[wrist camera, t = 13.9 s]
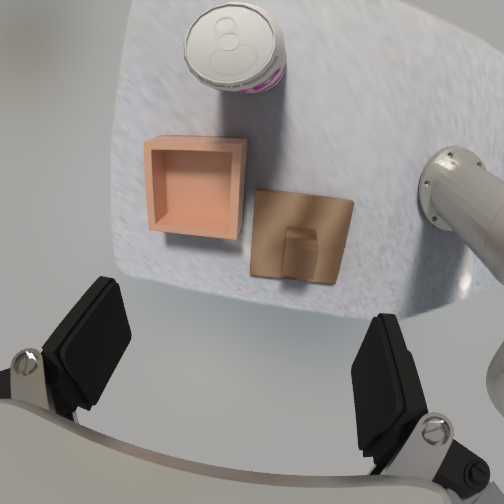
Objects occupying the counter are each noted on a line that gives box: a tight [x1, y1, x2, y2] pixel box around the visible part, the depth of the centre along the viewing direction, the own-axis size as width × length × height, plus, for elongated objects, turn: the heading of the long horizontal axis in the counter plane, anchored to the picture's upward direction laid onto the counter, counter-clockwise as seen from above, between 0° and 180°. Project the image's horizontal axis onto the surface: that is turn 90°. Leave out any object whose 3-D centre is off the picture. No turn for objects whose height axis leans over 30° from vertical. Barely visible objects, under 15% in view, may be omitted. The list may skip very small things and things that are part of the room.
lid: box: [250, 189, 354, 284], centre depth 38 cm, size 13×13×7 cm
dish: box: [144, 136, 248, 240], centre depth 37 cm, size 12×12×5 cm
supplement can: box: [184, 2, 286, 94], centre depth 24 cm, size 8×8×15 cm
